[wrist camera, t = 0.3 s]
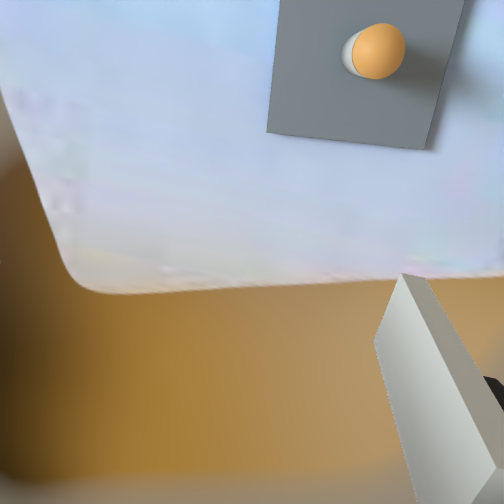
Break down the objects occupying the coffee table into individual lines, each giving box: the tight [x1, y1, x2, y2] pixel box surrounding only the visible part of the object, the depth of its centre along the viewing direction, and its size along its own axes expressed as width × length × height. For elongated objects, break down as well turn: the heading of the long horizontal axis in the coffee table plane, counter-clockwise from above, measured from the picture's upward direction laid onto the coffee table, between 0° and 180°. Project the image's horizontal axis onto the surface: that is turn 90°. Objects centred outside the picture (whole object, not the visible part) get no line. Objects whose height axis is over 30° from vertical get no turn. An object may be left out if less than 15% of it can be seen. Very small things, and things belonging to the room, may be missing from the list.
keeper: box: [266, 0, 465, 150], centre depth 30 cm, size 14×14×9 cm
